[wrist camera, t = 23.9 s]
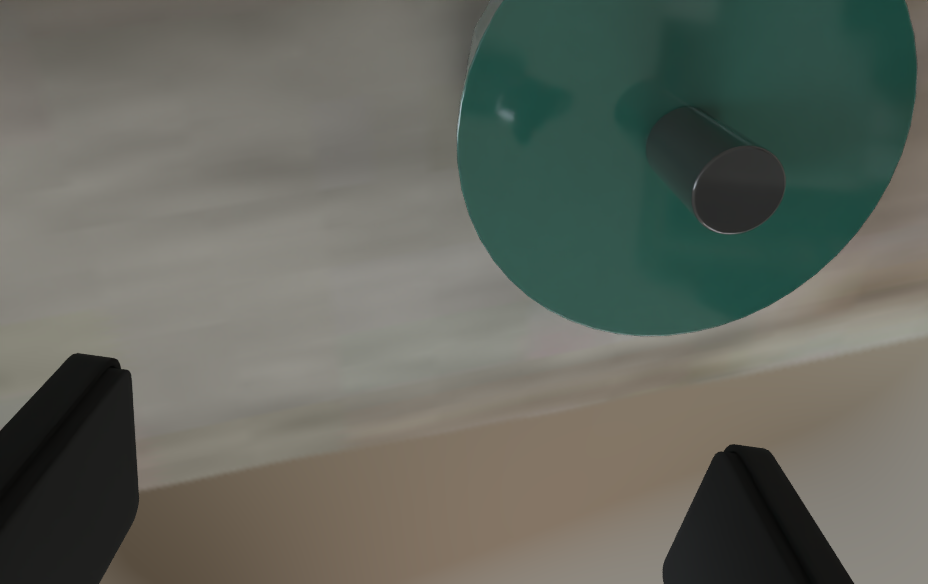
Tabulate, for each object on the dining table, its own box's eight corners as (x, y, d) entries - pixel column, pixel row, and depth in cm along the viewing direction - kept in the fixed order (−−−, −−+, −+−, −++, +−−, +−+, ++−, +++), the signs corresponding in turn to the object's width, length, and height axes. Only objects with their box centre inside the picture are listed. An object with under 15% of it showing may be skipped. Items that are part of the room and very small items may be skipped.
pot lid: (425, 290, 26) (417, 380, 21) (507, -172, 19) (530, -220, 14) (786, 346, 28) (867, 444, 22) (985, -61, 21) (1177, -65, 15)
